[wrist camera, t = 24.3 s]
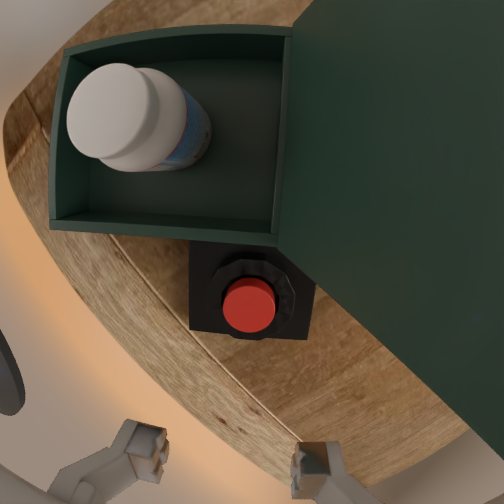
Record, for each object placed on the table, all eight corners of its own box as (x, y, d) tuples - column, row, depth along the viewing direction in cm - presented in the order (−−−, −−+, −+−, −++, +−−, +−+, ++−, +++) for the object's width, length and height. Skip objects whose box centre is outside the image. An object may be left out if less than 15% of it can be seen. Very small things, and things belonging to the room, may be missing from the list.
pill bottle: (184, 83, 21) (123, 26, 10) (228, 139, 22) (193, 109, 11) (127, 131, 22) (39, 112, 11) (168, 186, 23) (92, 200, 12)
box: (87, 217, 25) (49, 229, 19) (98, 66, 21) (64, 49, 15) (278, 230, 24) (282, 247, 19) (291, 57, 21) (297, 27, 15)
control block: (194, 318, 27) (184, 340, 23) (195, 232, 25) (182, 243, 21) (304, 327, 26) (309, 352, 23) (316, 241, 24) (325, 254, 21)
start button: (225, 319, 23) (221, 330, 21) (226, 275, 22) (223, 283, 20) (272, 323, 22) (272, 334, 21) (277, 279, 22) (277, 288, 20)
